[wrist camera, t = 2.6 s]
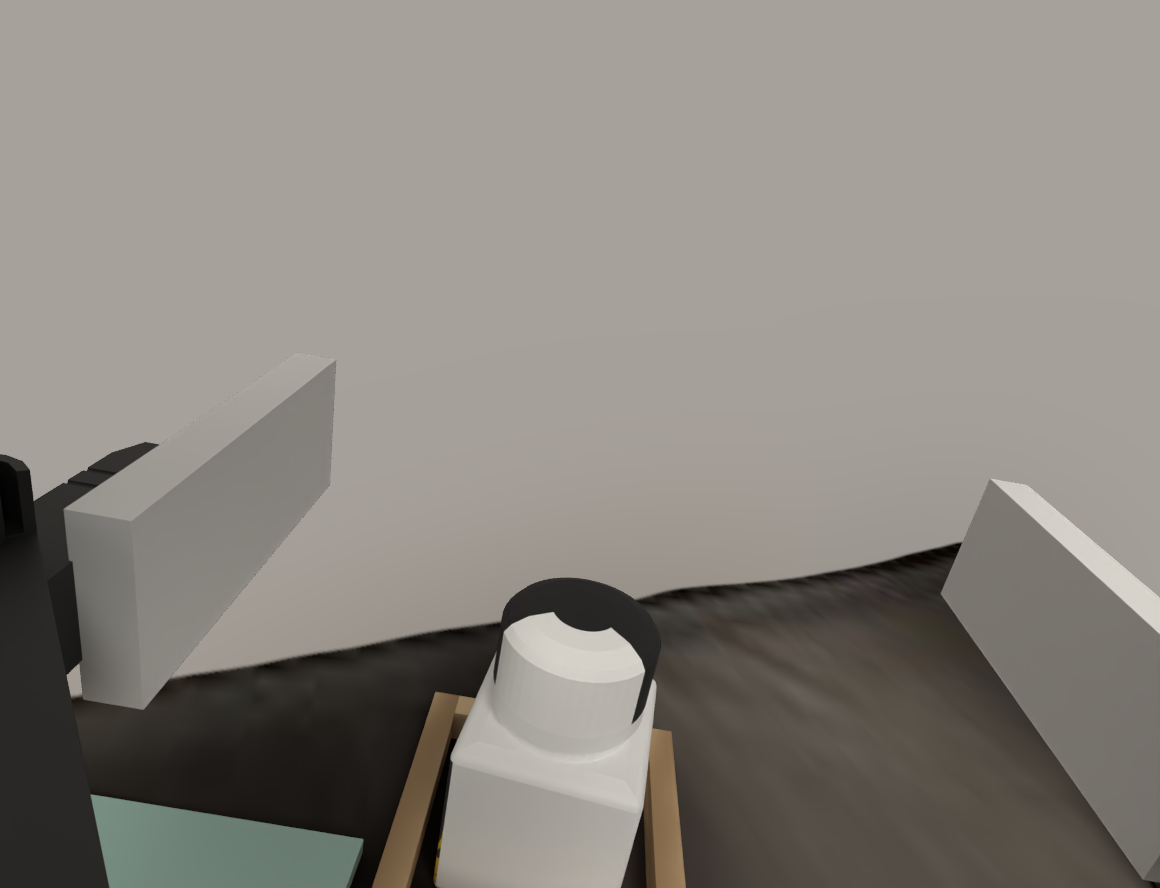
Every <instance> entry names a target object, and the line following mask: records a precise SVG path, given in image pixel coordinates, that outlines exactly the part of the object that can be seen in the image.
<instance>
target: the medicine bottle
mask: <svg viewBox="0 0 1160 888" xmlns="http://www.w3.org/2000/svg"><path fill="white" fill-rule="evenodd" d="M660 649H661V638H660V633H659V631H658V628H657V626H656V624H655V623H654V621H653V620H652V618H651V616H650V615H649V613H648V612H647V611H646V610H645V609H644V607H643V606H642V605H640V604H639V603H638V602H637V601H636V600H634V599H633V598H632V597H630V596H628V595H627V594H625V593H624V592H622V591H620V590H618V589H616V588H613V587H611V586H608V585H606V584H603V583H599V582H595V581H591V580H586V579H580V578H553V579H547V580H543V581H539V582H537V583H534V584H532V585H529V586H527V587H526V588H524V589H523V590H521V591H520V592H518V593H517V594H516V595H515V596H513V597H512V598H511V599H510V600H509V602H508V603H507V604H506V606H505V608H504V611H503V615H502V621H501V627H500V633H499V639H498V646H497V651H496V654H495V656H494V658H493V660H492V663H491V665H490V667H489V669H488V672H487V674H486V676H485V679H484V681H483V683H482V685H481V688H480V690H479V692H478V694H477V697H476V699H475V701H474V703H473V706H472V708H471V710H470V713H469V715H468V717H467V719H466V722H465V724H464V726H463V728H462V731H461V733H460V735H459V737H458V740H457V742H456V744H455V747H454V749H453V751H452V753H451V757H450V764H449V772H448V779H447V786H446V793H445V800H444V807H443V814H442V821H441V828H440V836H439V843H438V850H437V857H436V864H435V871H434V879H433V881H434V884H435V886H436V887H437V888H621V885H622V881H623V878H624V874H625V871H626V867H627V864H628V860H629V857H630V853H631V849H632V846H633V842H634V839H635V835H636V832H637V828H638V825H639V821H640V817H641V814H642V810H643V807H644V798H645V788H646V779H647V770H648V761H649V752H650V743H651V734H652V725H653V716H654V707H655V698H656V689H657V688H656V682H655V681H654V680H653V676H654V672H655V668H656V664H657V661H658V657H659V653H660Z"/></svg>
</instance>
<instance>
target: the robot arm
mask: <svg viewBox="0 0 1160 888" xmlns="http://www.w3.org/2000/svg"><path fill="white" fill-rule="evenodd" d="M335 374H336V359H330V358H324V357H319V356H314V355H308V354H303V353H296V354H294V355H293V356H291V357H290V358H288V359H287V360H285V361H284V362H282V363H281V364H279V365H278V366H276V367H275V368H273V369H272V370H270V371H269V372H267V373H266V374H264V375H263V376H261V377H260V378H259V379H257V380H255V381H254V382H252V383H251V384H250V385H248V386H246V387H245V388H243V389H242V390H241V391H239V392H238V393H236V394H235V395H233V396H232V397H230V398H229V399H227V400H226V401H224V402H223V403H221V404H220V405H218V406H217V407H215V408H214V409H212V410H211V411H209V412H208V413H206V414H205V415H203V416H202V417H200V418H199V419H198V420H196V421H194V422H193V423H191V424H190V425H188V426H187V427H185V428H184V429H182V430H181V431H179V432H178V433H176V434H175V435H173V436H172V437H170V438H169V439H167V440H166V441H164V442H163V443H161V444H160V445H159V444H153V443H147V442H144V443H142V444H138V445H135V446H132V447H128V448H125V449H122V450H119V451H115V452H112V453H111V454H109V455H107V456H106V457H104V458H102V459H101V460H99V461H98V462H96V463H94V464H93V465H91V466H90V467H88V470H87V471H82V472H80V473H78V474H77V475H75V476H73V477H72V478H70V479H69V480H68V483H67V484H65V483H62V484H61V485H59V486H57V487H56V488H54V489H53V490H51V491H49V492H48V493H46V494H45V495H43V496H41V497H40V498H38V499H37V500H35V501H33V492H32V485H31V476H30V470H29V468H28V467H27V466H26V465H25V464H24V462H23V461H20V460H18V459H15V458H12V457H10V456H7V455H1V454H0V888H109V883H108V878H107V873H106V868H105V863H104V858H103V853H102V848H101V843H100V838H99V833H98V829H97V824H96V819H95V814H94V809H93V804H92V799H91V794H90V789H89V784H88V779H87V774H86V769H85V765H84V760H83V755H82V750H81V745H80V740H79V735H78V730H77V725H76V720H75V715H74V710H73V705H72V701H71V696H70V691H69V686H68V681H67V676H66V675H67V674H68V673H69V672H70V671H71V670H72V669H73V668H74V667H75V666H77V665H78V664H80V674H81V683H82V693H83V700H89V701H95V702H101V703H106V704H112V705H118V706H124V707H130V708H136V709H142V710H144V709H145V707H146V706H147V705H148V704H149V703H150V701H151V700H152V699H153V698H154V696H155V695H156V694H157V693H158V692H159V690H160V689H161V688H162V687H163V686H164V684H165V683H166V682H167V681H168V680H169V678H170V677H171V676H172V675H173V674H174V672H175V671H176V670H177V669H178V668H179V666H180V665H181V664H182V663H183V662H184V660H185V659H186V658H187V657H188V655H189V654H190V653H191V652H192V650H193V649H194V648H195V647H196V646H197V645H198V643H199V642H200V641H201V640H202V639H203V637H204V636H205V635H206V634H207V633H208V631H209V630H210V629H211V628H212V627H213V625H214V624H215V623H216V622H217V621H218V619H219V618H220V617H221V616H222V614H223V613H224V612H225V611H226V610H227V608H228V607H229V606H230V605H231V604H232V602H233V601H234V600H235V599H236V598H237V596H238V595H239V594H240V593H241V591H242V590H243V589H244V588H245V587H246V586H247V584H248V583H249V582H250V581H251V579H252V578H253V577H254V576H255V575H256V573H257V572H258V571H259V570H260V568H261V567H262V566H263V565H264V564H265V563H266V561H267V560H268V559H269V558H270V557H271V555H272V554H273V553H274V552H275V550H276V549H277V548H278V547H279V546H280V545H281V543H282V542H283V541H284V540H285V538H286V537H287V536H288V535H289V534H290V532H291V531H292V530H293V529H294V528H295V526H296V525H297V524H298V523H299V522H300V520H301V519H302V518H303V517H304V516H305V514H306V513H307V512H308V511H309V510H310V508H311V507H312V506H313V505H314V503H315V502H316V501H317V500H318V499H319V497H320V496H321V495H322V494H323V493H324V491H325V490H326V489H327V488H328V487H329V485H330V472H331V471H330V470H331V451H332V432H333V413H334V394H335ZM941 595H942V596H943V598H944V599H945V601H946V602H947V604H948V605H949V606H950V608H951V609H952V611H953V612H954V613H955V615H956V616H957V618H958V619H959V621H960V622H961V623H962V625H963V626H964V628H965V629H966V630H967V632H968V633H969V635H970V636H971V637H972V639H973V640H974V642H975V643H976V645H977V646H978V647H979V649H980V650H981V652H982V653H983V654H984V656H985V657H986V659H987V660H988V662H989V663H990V664H991V666H992V667H993V669H994V670H995V671H996V673H997V674H998V676H999V677H1000V678H1001V680H1002V681H1003V683H1004V684H1005V686H1006V687H1007V688H1008V690H1009V691H1010V693H1011V694H1012V695H1013V697H1014V698H1015V700H1016V701H1017V703H1018V704H1019V705H1020V707H1021V708H1022V710H1023V711H1024V712H1025V714H1026V715H1027V717H1028V718H1029V719H1030V721H1031V722H1032V724H1033V725H1034V727H1035V728H1036V729H1037V731H1038V732H1039V734H1040V735H1041V736H1042V738H1043V739H1044V741H1045V742H1046V744H1047V745H1048V746H1049V748H1050V749H1051V751H1052V752H1053V753H1054V755H1055V756H1056V758H1057V759H1058V760H1059V762H1060V763H1061V765H1062V766H1063V768H1064V769H1065V770H1066V772H1067V773H1068V775H1069V776H1070V777H1071V779H1072V780H1073V782H1074V783H1075V785H1076V786H1077V787H1078V789H1079V790H1080V792H1081V793H1082V794H1083V796H1084V797H1085V799H1086V800H1087V802H1088V803H1089V804H1090V806H1091V807H1092V809H1093V810H1094V811H1095V813H1096V814H1097V816H1098V817H1099V818H1100V820H1101V821H1102V823H1103V824H1104V826H1105V827H1106V828H1107V830H1108V831H1109V833H1110V834H1111V835H1112V837H1113V838H1114V840H1115V841H1116V843H1117V844H1118V845H1119V847H1120V848H1121V850H1122V851H1123V852H1124V854H1125V855H1126V857H1127V858H1128V859H1129V861H1130V862H1131V864H1132V865H1133V867H1134V868H1135V869H1136V871H1137V872H1138V874H1139V875H1140V876H1141V878H1142V879H1143V880H1147V881H1153V882H1154V883H1155V885H1156V887H1157V888H1160V598H1159V597H1158V596H1157V595H1156V594H1155V593H1154V592H1152V591H1151V590H1150V589H1149V588H1148V587H1146V586H1145V585H1144V584H1143V583H1142V582H1141V581H1139V580H1138V579H1137V578H1136V577H1135V576H1133V575H1132V574H1131V573H1130V572H1129V571H1128V570H1126V569H1125V568H1124V567H1123V566H1122V565H1121V564H1119V563H1118V562H1117V561H1116V560H1115V559H1114V558H1112V557H1111V556H1110V555H1109V554H1108V553H1106V552H1105V551H1104V550H1103V549H1102V548H1100V547H1099V546H1098V545H1097V544H1096V543H1095V542H1093V541H1092V540H1091V539H1090V538H1089V537H1088V536H1086V535H1085V534H1084V533H1083V532H1082V531H1080V530H1079V529H1078V528H1077V527H1076V526H1074V525H1073V524H1072V523H1071V522H1070V521H1069V520H1068V519H1066V518H1065V517H1064V516H1063V515H1062V514H1060V513H1059V512H1058V511H1057V510H1056V509H1055V508H1053V507H1052V506H1051V505H1050V504H1049V503H1047V502H1046V501H1045V500H1044V499H1043V498H1042V497H1040V496H1039V495H1038V494H1037V493H1036V492H1035V491H1033V490H1032V489H1031V488H1030V487H1029V486H1027V485H1022V484H1017V483H1012V482H1006V481H1001V480H995V479H990V480H989V482H988V485H987V487H986V489H985V492H984V494H983V496H982V499H981V501H980V503H979V506H978V508H977V511H976V513H975V515H974V517H973V520H972V522H971V524H970V527H969V529H968V531H967V534H966V536H965V538H964V540H963V543H962V545H961V547H960V550H959V552H958V554H957V557H956V559H955V561H954V564H953V566H952V568H951V571H950V573H949V575H948V578H947V580H946V582H945V585H944V587H943V589H942V592H941Z"/></svg>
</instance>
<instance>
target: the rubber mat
mask: <svg viewBox="0 0 1160 888" xmlns="http://www.w3.org/2000/svg"><path fill="white" fill-rule="evenodd" d="M91 799H92V804H93V809H94V814H95V819H96V824H97V829H98V833H99V838H100V843H101V848H102V853H103V858H104V863H105V868H106V873H107V878H108V883H109V888H350V886H351V884H352V881H353V878H354V875H355V872H356V870H357V867H358V864H359V861H360V858H361V855H362V851H363V839H360V838H353V837H347V836H341V835H335V834H329V833H323V832H317V831H311V830H305V829H299V828H292V827H286V826H280V825H274V824H268V823H262V822H256V821H250V820H244V819H237V818H231V817H225V816H219V815H213V814H207V813H201V812H195V811H189V810H183V809H176V808H170V807H164V806H158V805H152V804H146V803H140V802H134V801H128V800H121V799H115V798H109V797H103V796H97V795H91Z"/></svg>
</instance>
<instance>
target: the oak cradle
mask: <svg viewBox="0 0 1160 888" xmlns="http://www.w3.org/2000/svg"><path fill="white" fill-rule="evenodd" d="M475 699H476V698H470V697H464V696H458V695H452V694H446V693H440V692H435V695H434V698H433V701H432V704H431V708H430V711H429V714H428V717H427V720H426V723H425V726H424V729H423V732H422V735H421V738H420V741H419V744H418V747H417V751H416V754H415V757H414V760H413V763H412V766H411V769H410V772H409V775H408V778H407V781H406V784H405V787H404V791H403V794H402V797H401V800H400V803H399V806H398V809H397V812H396V815H395V818H394V821H393V824H392V827H391V831H390V834H389V837H388V840H387V843H386V846H385V849H384V852H383V855H382V858H381V861H380V864H379V867H378V871H377V874H376V877H375V880H374V883H373V886H372V888H410V887H411V883H412V880H413V876H414V872H415V869H416V865H417V861H418V858H419V854H420V850H421V847H422V843H423V839H424V836H425V832H426V828H427V825H428V821H429V817H430V814H431V810H432V807H433V803H434V799H435V796H436V792H437V788H438V785H439V781H440V777H441V774H442V770H443V766H444V763H445V759H446V755H447V752H448V748H449V745H450V741H451V738H453V739H458V737H459V735H460V733H461V731H462V728H463V726H464V724H465V722H466V719H467V717H468V715H469V713H470V710H471V708H472V706H473V703H474V701H475ZM643 809H644V833H645V858H646V883H647V888H686V885H685V875H684V864H683V853H682V842H681V831H680V820H679V810H678V799H677V788H676V777H675V766H674V756H673V745H672V734H671V731H665V730H659V729H653V728H652V734H651V743H650V752H649V761H648V770H647V779H646V788H645V798H644V807H643Z"/></svg>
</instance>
